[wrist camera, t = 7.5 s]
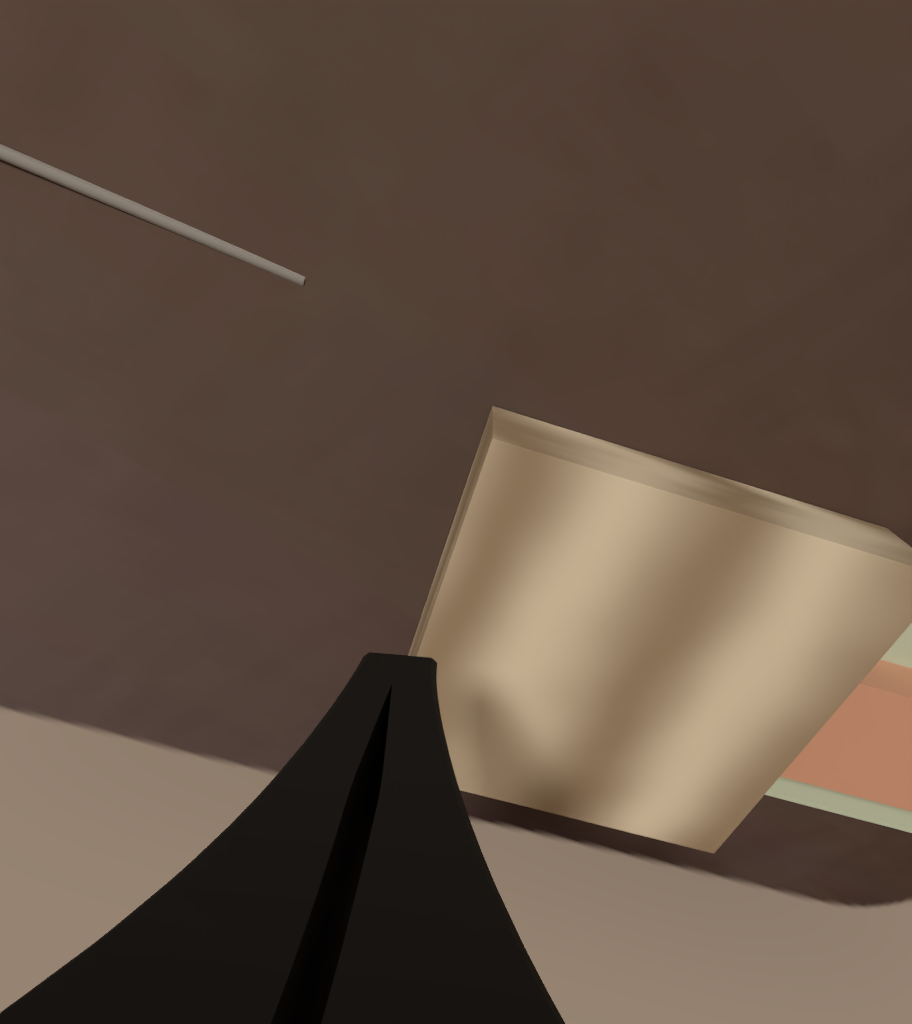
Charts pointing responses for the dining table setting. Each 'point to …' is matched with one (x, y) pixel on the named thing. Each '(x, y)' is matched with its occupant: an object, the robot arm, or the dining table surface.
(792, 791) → the mat
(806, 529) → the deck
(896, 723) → the tile
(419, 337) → the dining table surface
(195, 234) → the sign
